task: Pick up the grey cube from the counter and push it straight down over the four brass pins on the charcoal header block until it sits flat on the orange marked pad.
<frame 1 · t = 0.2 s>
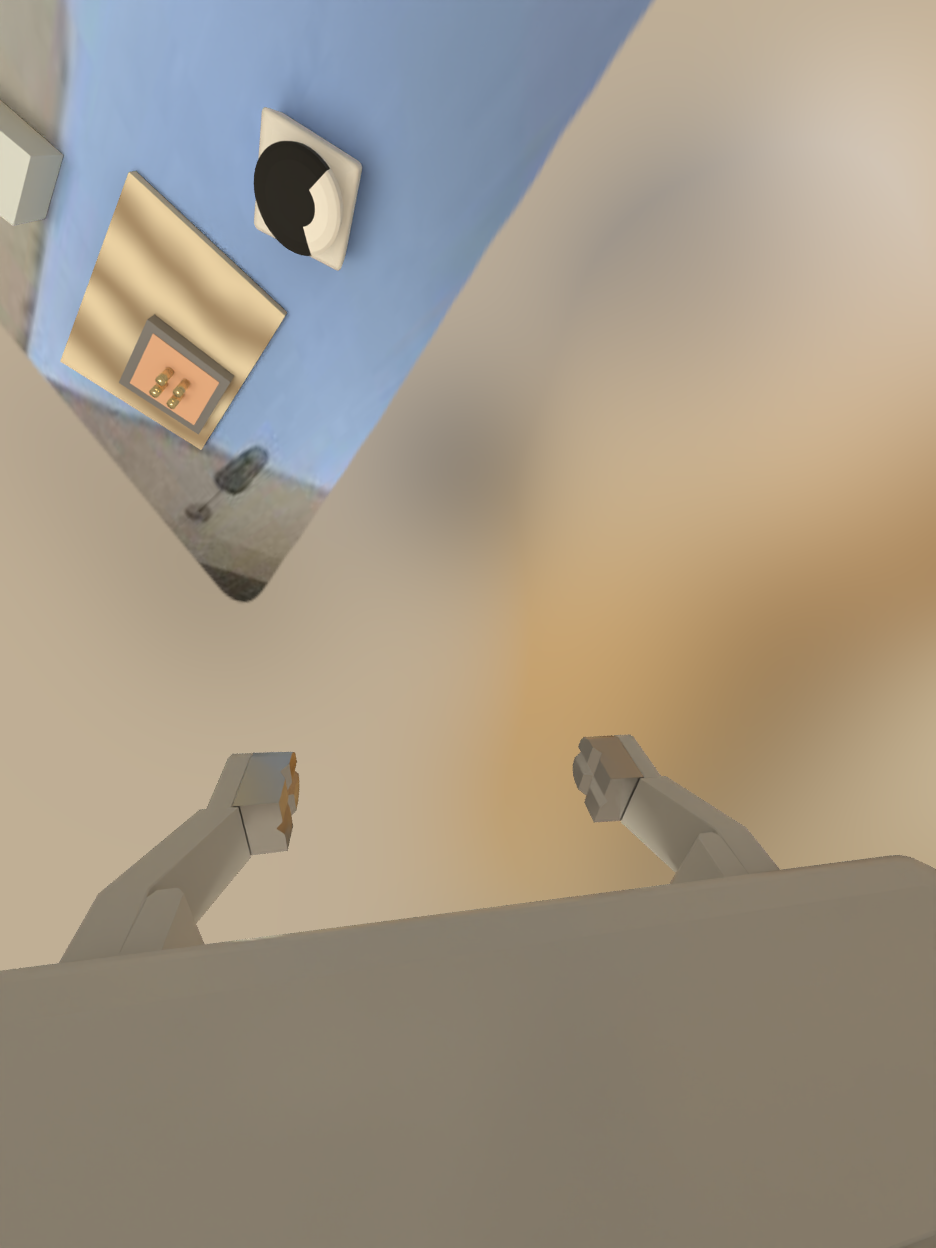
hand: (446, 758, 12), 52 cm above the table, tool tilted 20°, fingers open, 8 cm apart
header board: (176, 334, 45), on the table
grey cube: (10, 152, 34), on the table
medicine bottle: (314, 191, 38), on the table
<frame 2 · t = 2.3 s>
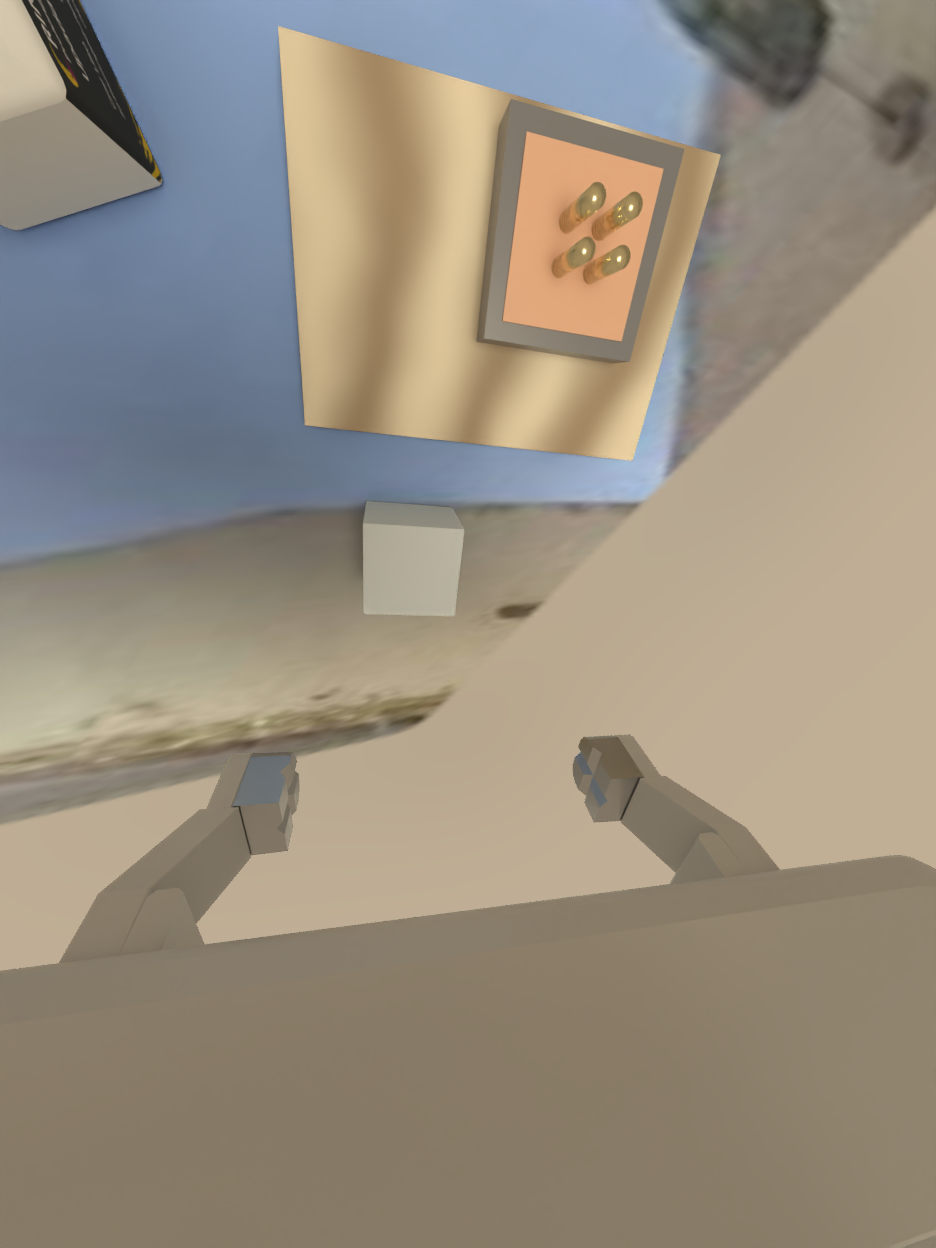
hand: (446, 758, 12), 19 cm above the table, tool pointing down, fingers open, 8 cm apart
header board: (493, 303, 23), on the table
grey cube: (408, 545, 29), on the table
medicine bottle: (31, 95, 17), on the table
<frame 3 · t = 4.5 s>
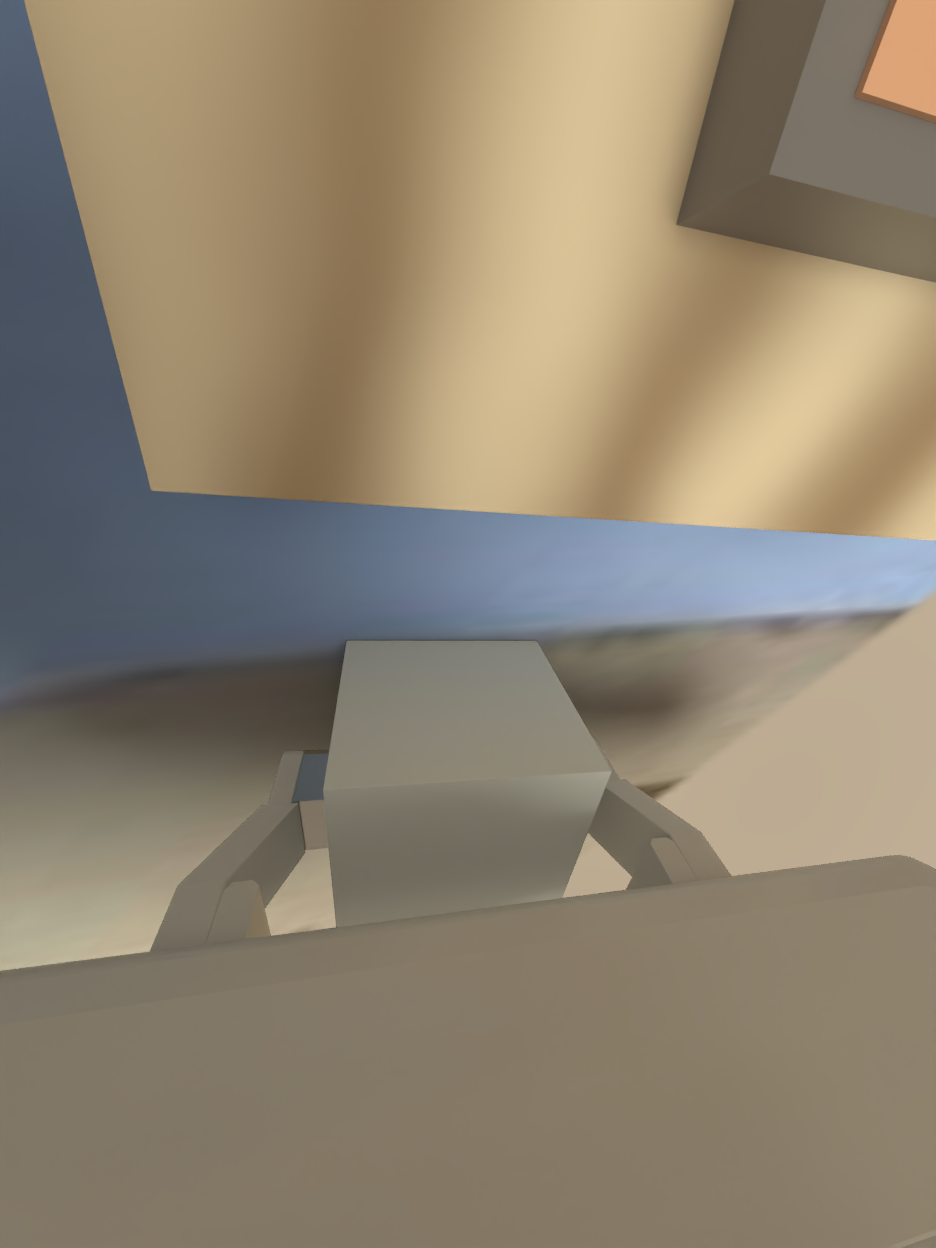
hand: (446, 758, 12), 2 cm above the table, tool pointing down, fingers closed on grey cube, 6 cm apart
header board: (714, 114, 7), on the table
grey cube: (439, 713, 14), on the table, touching gripper
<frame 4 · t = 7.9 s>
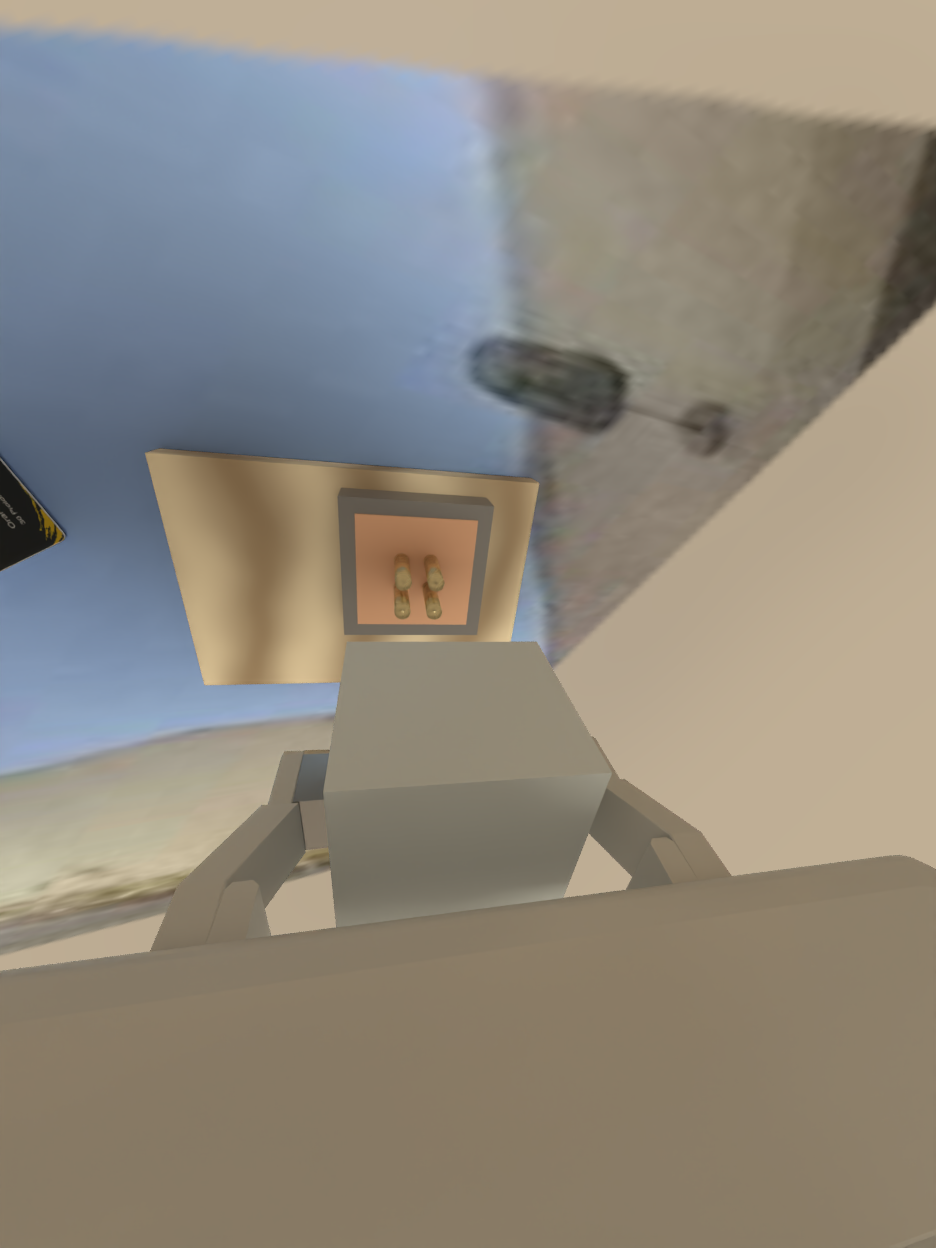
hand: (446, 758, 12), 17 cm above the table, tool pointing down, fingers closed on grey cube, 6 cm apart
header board: (363, 579, 27), on the table
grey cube: (439, 714, 14), point 15 cm above the table, touching gripper
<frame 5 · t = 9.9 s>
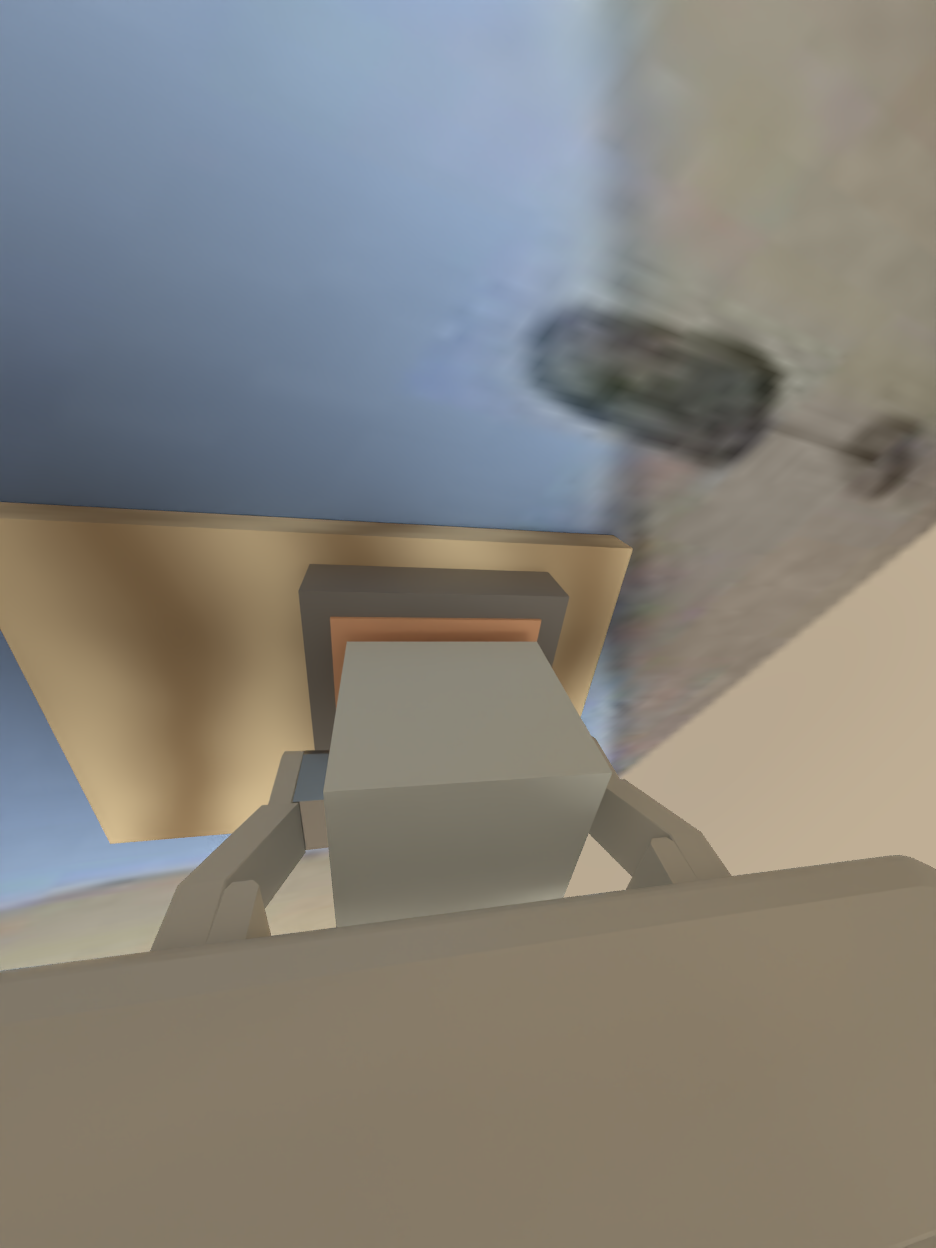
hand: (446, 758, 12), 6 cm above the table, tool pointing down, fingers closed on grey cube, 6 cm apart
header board: (351, 685, 17), on the table
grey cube: (439, 714, 14), point 4 cm above the table, touching gripper
when the fingers open (5 cm above the table, at t = 11.3 s): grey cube stays where it is, resting on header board.
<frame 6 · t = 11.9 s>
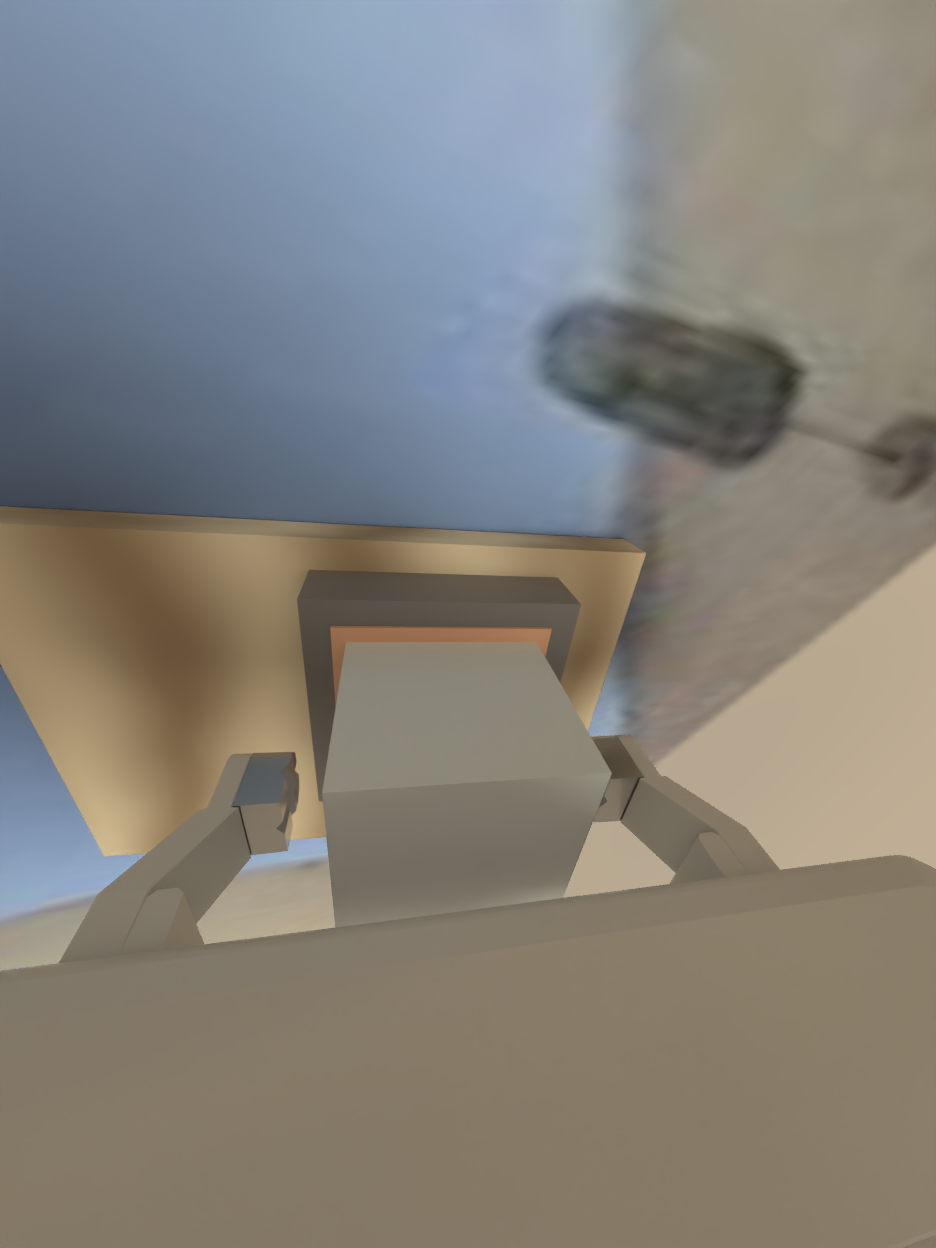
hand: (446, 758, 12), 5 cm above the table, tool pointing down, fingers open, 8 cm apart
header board: (353, 693, 17), on the table
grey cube: (438, 714, 13), point 4 cm above the table, touching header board
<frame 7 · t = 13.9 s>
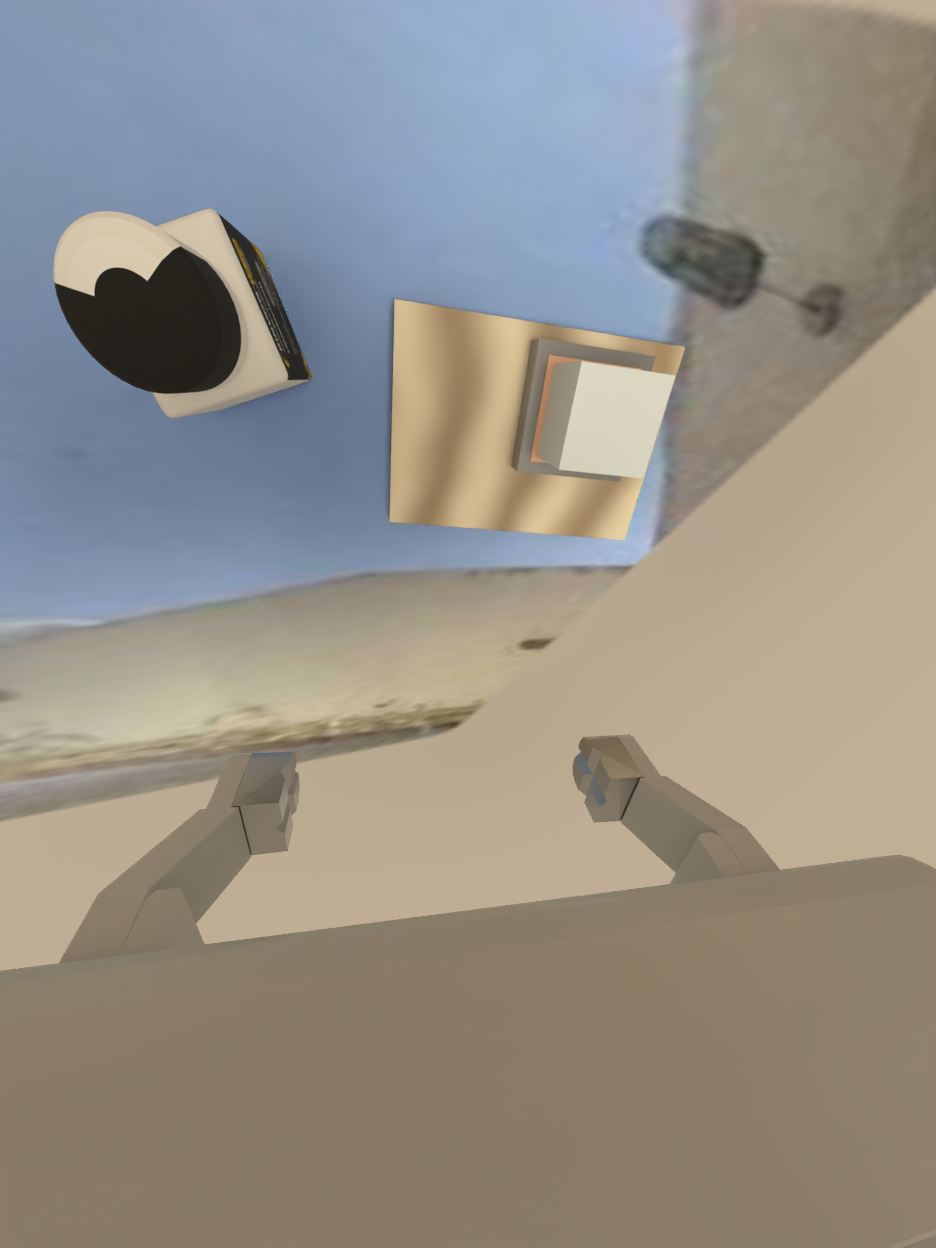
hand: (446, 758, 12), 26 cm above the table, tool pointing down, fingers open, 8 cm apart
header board: (523, 437, 32), on the table
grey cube: (583, 417, 29), point 4 cm above the table, touching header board
medicine bottle: (237, 335, 27), on the table
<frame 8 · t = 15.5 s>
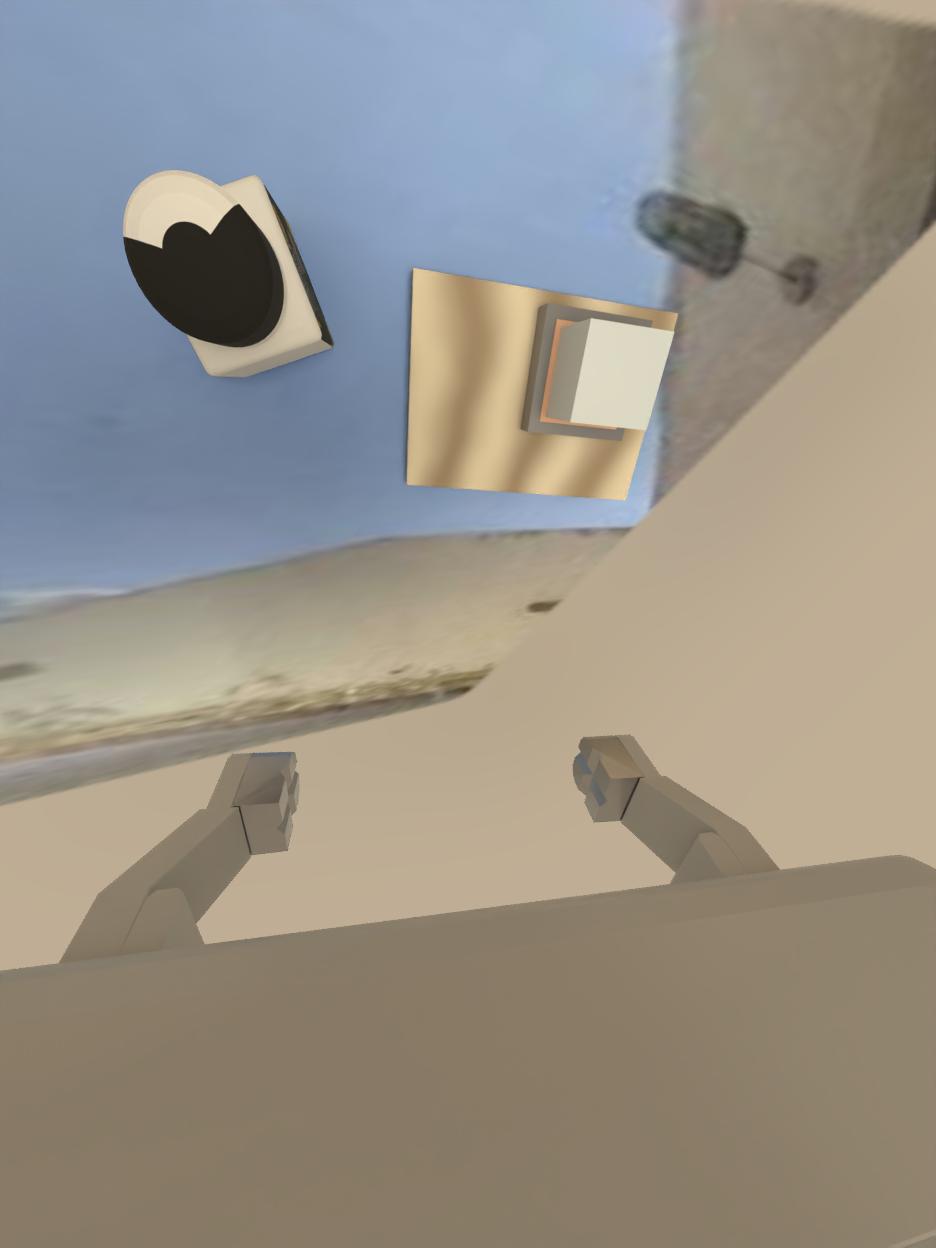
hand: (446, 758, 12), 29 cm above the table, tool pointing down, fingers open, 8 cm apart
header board: (531, 402, 34), on the table
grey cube: (588, 378, 31), point 4 cm above the table, touching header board
medicine bottle: (264, 304, 29), on the table
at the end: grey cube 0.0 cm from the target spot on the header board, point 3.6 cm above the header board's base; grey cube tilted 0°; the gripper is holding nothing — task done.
